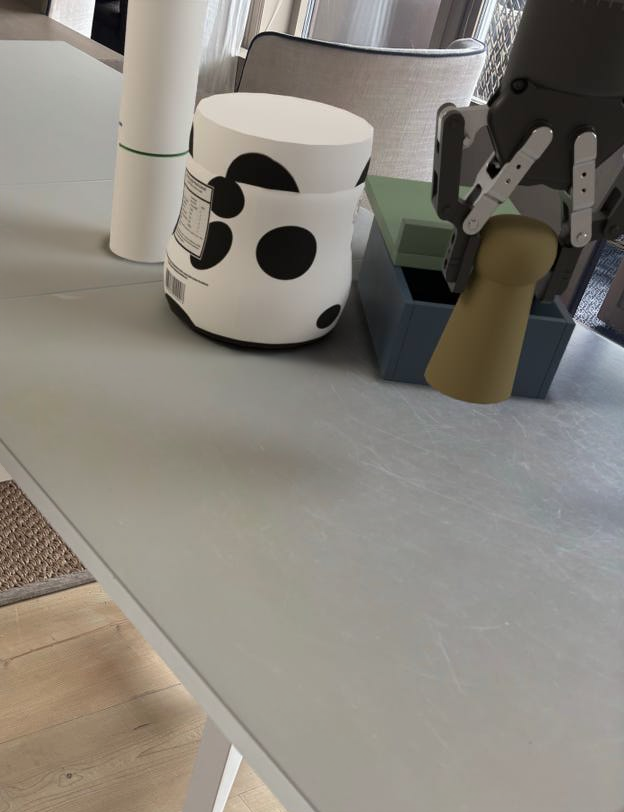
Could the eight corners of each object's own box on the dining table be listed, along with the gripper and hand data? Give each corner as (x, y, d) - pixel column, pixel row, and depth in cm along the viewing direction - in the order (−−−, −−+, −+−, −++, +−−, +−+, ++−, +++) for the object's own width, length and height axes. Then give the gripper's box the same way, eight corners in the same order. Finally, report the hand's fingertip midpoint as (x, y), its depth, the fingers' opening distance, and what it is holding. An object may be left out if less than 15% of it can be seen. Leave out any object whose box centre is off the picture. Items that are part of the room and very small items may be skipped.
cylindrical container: (168, 243, 107) (200, -30, 90) (181, 269, 102) (218, -16, 85) (104, 240, 105) (125, -38, 89) (114, 266, 100) (137, -23, 83)
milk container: (361, 319, 97) (413, 121, 85) (298, 384, 85) (348, 165, 73) (205, 271, 102) (234, 78, 90) (125, 326, 90) (145, 112, 78)
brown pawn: (406, 376, 67) (455, 212, 60) (455, 354, 71) (507, 197, 63) (480, 413, 64) (541, 246, 57) (528, 388, 68) (591, 227, 60)
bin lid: (500, 202, 105) (512, 166, 102) (556, 285, 88) (573, 243, 85) (362, 185, 104) (371, 148, 102) (393, 265, 87) (405, 223, 85)
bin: (491, 305, 103) (517, 232, 98) (542, 405, 87) (576, 324, 82) (355, 289, 102) (374, 214, 97) (381, 385, 86) (405, 302, 81)
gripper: (487, -21, 49) (397, 305, 60) (767, 13, 49) (624, 331, 61) (460, -44, 55) (382, 259, 66) (711, -13, 55) (590, 283, 66)
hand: (499, 292), depth 63 cm, fingers closed on brown pawn, 5 cm apart
